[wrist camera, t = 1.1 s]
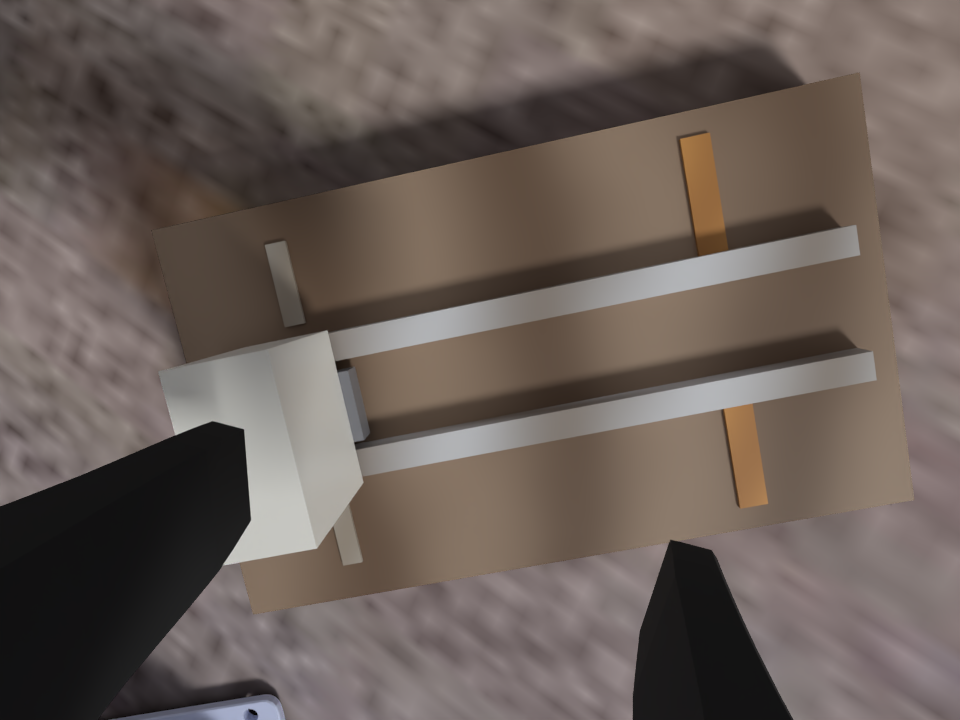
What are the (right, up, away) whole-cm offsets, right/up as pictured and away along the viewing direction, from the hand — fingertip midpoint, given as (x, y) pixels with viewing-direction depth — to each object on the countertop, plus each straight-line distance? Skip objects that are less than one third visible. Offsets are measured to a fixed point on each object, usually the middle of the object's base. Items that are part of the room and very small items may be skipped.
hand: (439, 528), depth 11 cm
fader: (-4, +1, +8) cm, 9 cm away
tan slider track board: (+2, +3, +10) cm, 11 cm away
